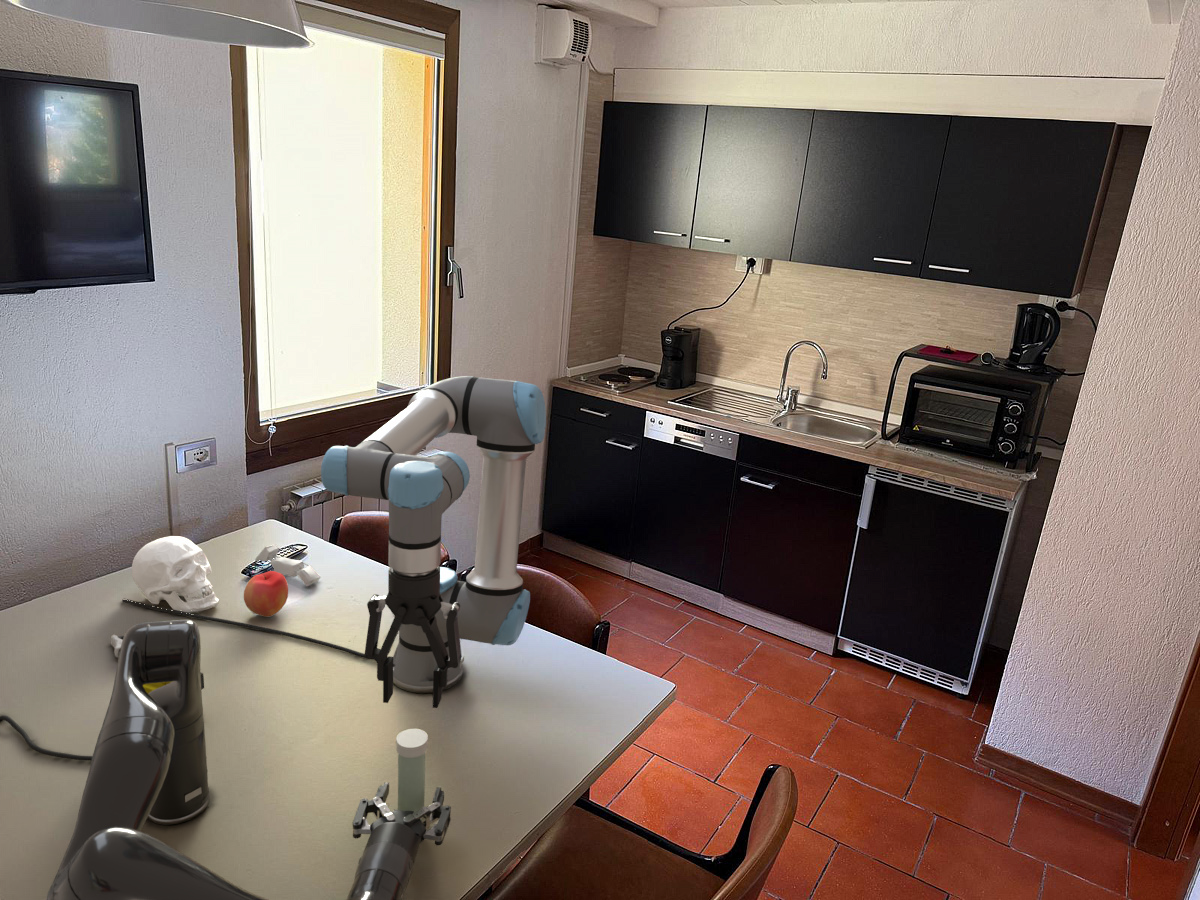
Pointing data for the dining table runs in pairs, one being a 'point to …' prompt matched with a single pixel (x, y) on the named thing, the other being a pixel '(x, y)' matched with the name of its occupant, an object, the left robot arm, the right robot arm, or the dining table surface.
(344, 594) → the dining table surface
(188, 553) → the skull
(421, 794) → the pale green cylinder
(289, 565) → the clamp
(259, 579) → the apple
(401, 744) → the lid
